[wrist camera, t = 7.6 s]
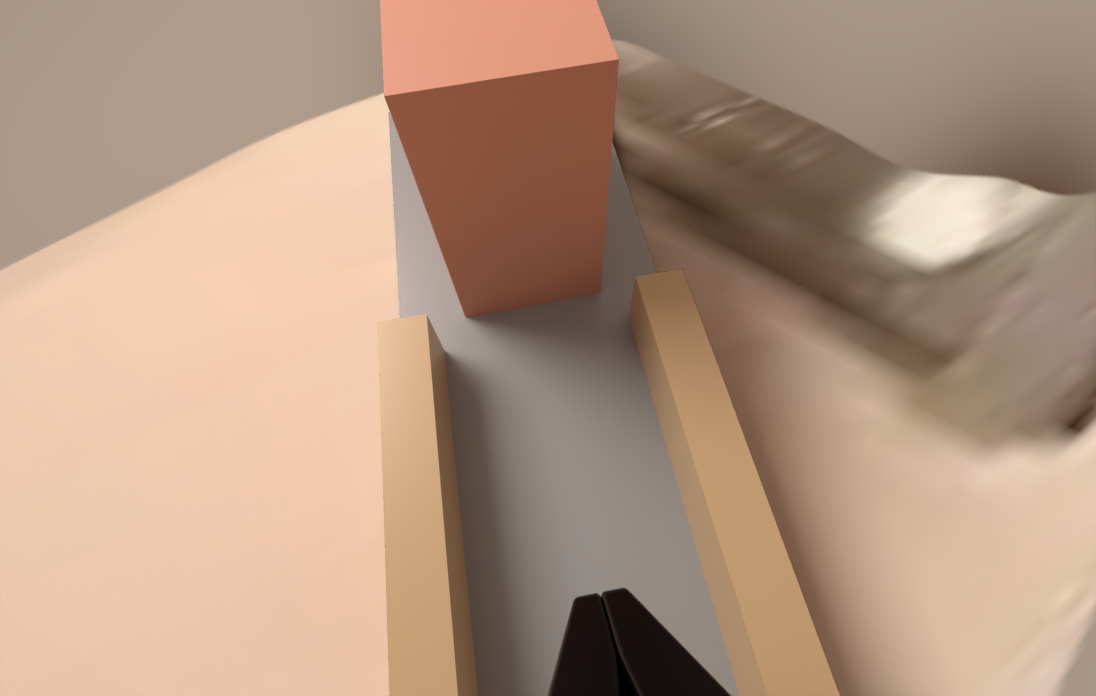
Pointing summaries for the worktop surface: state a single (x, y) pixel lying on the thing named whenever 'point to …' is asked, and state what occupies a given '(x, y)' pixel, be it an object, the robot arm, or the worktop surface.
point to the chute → (570, 478)
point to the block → (507, 140)
